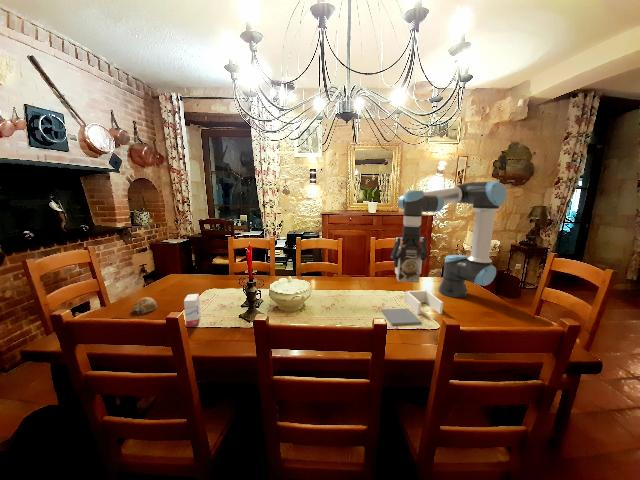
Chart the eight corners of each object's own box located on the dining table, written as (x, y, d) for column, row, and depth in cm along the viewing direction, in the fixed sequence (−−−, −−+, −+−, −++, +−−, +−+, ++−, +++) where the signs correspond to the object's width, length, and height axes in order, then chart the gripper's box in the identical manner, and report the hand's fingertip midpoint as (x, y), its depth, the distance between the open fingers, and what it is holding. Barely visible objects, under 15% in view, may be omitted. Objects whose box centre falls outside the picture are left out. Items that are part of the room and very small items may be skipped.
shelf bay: (426, 300, 146) (426, 290, 145) (441, 313, 130) (443, 302, 129) (404, 301, 145) (405, 291, 144) (417, 314, 129) (418, 303, 128)
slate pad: (408, 310, 134) (408, 308, 134) (421, 323, 120) (421, 321, 120) (381, 311, 132) (381, 309, 132) (391, 325, 119) (391, 323, 118)
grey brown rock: (157, 316, 131) (163, 300, 133) (136, 315, 123) (142, 298, 125) (148, 311, 137) (153, 296, 138) (126, 310, 128) (132, 294, 130)
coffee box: (398, 282, 119) (401, 247, 117) (396, 277, 126) (398, 244, 123) (419, 283, 118) (422, 248, 116) (415, 278, 125) (418, 245, 122)
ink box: (198, 325, 116) (196, 300, 114) (185, 327, 115) (183, 301, 113) (201, 316, 124) (199, 293, 122) (189, 318, 123) (187, 294, 121)
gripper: (429, 224, 123) (425, 270, 127) (384, 224, 119) (381, 271, 123) (439, 226, 116) (434, 274, 120) (391, 226, 112) (388, 277, 116)
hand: (407, 273), depth 122 cm, fingers closed on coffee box, 10 cm apart
